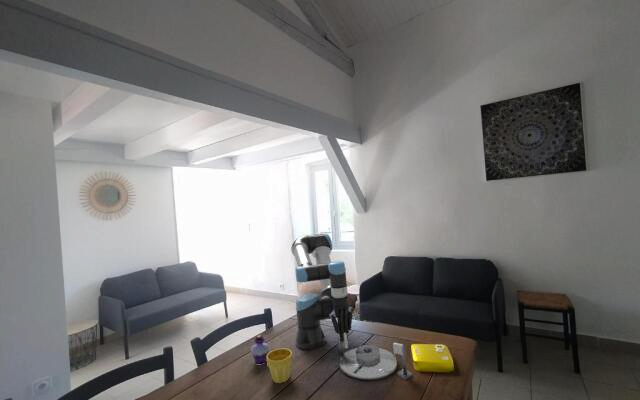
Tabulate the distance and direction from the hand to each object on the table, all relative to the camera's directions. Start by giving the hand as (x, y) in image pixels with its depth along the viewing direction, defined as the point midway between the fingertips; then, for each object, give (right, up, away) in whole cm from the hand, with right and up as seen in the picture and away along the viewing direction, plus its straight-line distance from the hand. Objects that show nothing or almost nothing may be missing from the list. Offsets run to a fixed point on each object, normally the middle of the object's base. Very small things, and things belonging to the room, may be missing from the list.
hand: (345, 347), depth 135 cm
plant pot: (-27, -5, -16) cm, 32 cm away
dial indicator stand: (+22, -1, -21) cm, 30 cm away
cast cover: (+9, 0, -10) cm, 14 cm away
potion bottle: (-38, -7, -1) cm, 39 cm away
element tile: (+35, 0, -13) cm, 37 cm away
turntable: (+8, -2, -10) cm, 12 cm away
